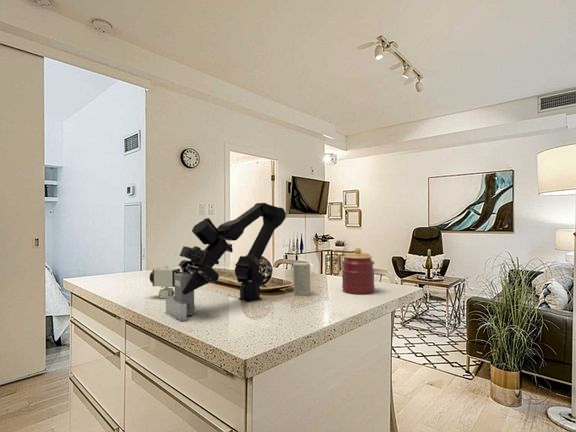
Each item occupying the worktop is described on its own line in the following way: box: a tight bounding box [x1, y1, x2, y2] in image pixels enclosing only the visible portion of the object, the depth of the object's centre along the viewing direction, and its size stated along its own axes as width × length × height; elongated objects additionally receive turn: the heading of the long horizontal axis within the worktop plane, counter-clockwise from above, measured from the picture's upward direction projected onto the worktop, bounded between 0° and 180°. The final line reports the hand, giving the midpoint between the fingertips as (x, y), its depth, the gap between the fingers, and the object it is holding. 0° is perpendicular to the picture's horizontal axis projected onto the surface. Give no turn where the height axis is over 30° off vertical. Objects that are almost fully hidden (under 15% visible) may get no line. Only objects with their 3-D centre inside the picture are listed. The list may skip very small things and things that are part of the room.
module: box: [173, 273, 195, 316], centre depth 102 cm, size 4×6×12 cm
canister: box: [341, 247, 376, 295], centre depth 134 cm, size 13×13×18 cm
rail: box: [165, 296, 190, 322], centre depth 101 cm, size 3×13×5 cm, turn 39°
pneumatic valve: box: [149, 265, 182, 300], centre depth 126 cm, size 6×12×12 cm, turn 78°
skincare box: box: [292, 262, 311, 296], centre depth 130 cm, size 6×4×12 cm
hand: (179, 292), depth 102 cm, fingers closed on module, 5 cm apart
